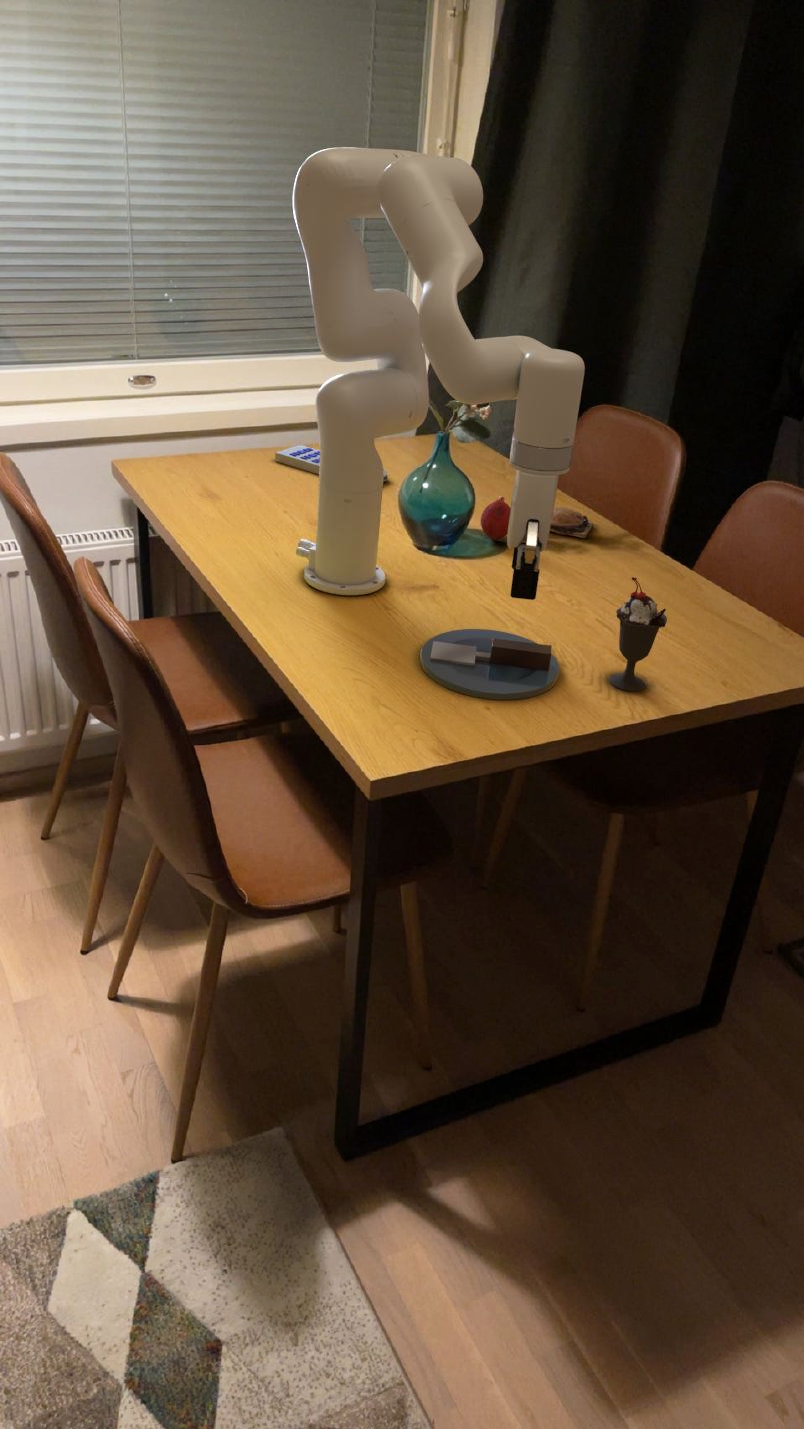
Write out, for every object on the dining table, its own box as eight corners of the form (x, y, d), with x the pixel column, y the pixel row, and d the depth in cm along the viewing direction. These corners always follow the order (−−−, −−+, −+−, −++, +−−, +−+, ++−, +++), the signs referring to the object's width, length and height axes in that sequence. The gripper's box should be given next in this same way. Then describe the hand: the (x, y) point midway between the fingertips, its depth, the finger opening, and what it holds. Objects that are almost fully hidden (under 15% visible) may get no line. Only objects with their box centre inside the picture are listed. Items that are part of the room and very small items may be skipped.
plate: (393, 669, 150) (394, 662, 150) (461, 623, 165) (461, 616, 164) (521, 715, 142) (522, 708, 142) (580, 662, 157) (581, 655, 156)
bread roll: (594, 526, 206) (598, 507, 204) (584, 540, 199) (588, 520, 197) (538, 514, 209) (541, 495, 207) (526, 528, 202) (529, 508, 200)
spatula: (430, 660, 151) (431, 643, 150) (433, 643, 156) (435, 626, 154) (548, 675, 150) (551, 658, 149) (548, 658, 155) (551, 641, 153)
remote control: (300, 454, 229) (300, 443, 228) (391, 480, 218) (392, 469, 217) (275, 461, 223) (275, 450, 222) (367, 489, 212) (368, 478, 211)
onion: (509, 549, 192) (515, 504, 188) (475, 544, 193) (481, 499, 189) (513, 537, 197) (519, 493, 193) (480, 532, 198) (486, 488, 194)
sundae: (596, 670, 155) (616, 569, 148) (644, 672, 156) (666, 572, 148) (608, 693, 149) (629, 590, 142) (657, 695, 150) (681, 592, 143)
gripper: (511, 433, 146) (496, 556, 155) (509, 472, 131) (492, 606, 140) (569, 439, 146) (550, 562, 154) (573, 478, 131) (552, 613, 139)
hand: (523, 583), depth 147 cm, fingers open, 9 cm apart
